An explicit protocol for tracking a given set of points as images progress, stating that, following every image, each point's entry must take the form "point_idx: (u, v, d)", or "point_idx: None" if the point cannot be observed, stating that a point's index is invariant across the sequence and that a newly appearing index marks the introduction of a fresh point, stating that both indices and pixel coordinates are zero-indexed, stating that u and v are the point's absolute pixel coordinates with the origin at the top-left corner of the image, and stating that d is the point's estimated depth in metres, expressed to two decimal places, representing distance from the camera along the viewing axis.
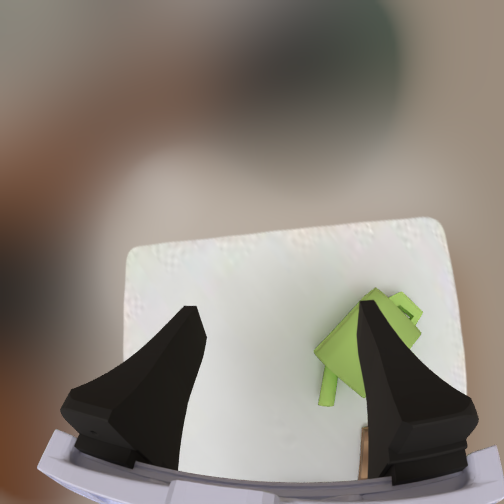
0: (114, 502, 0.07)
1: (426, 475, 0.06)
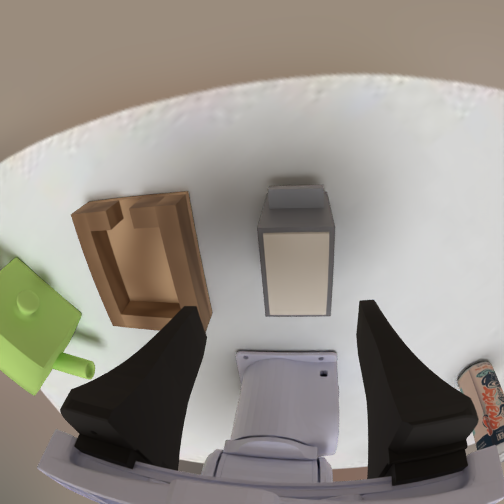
0: (114, 502, 0.07)
1: (426, 475, 0.06)
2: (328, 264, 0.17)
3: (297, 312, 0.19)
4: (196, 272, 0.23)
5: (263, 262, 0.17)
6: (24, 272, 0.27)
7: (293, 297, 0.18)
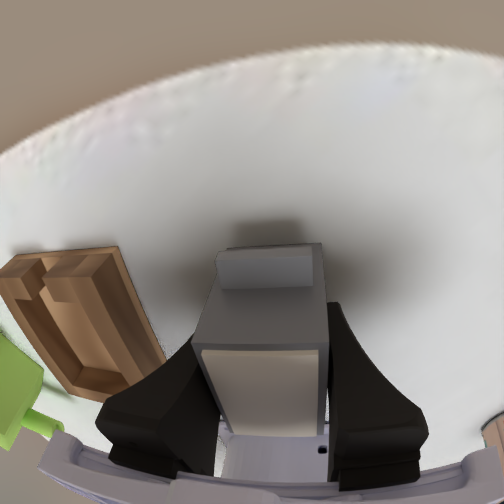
0: (114, 502, 0.07)
1: (373, 484, 0.06)
2: (318, 389, 0.09)
3: (274, 433, 0.11)
4: (145, 351, 0.16)
5: (212, 383, 0.10)
6: None
7: (265, 422, 0.11)
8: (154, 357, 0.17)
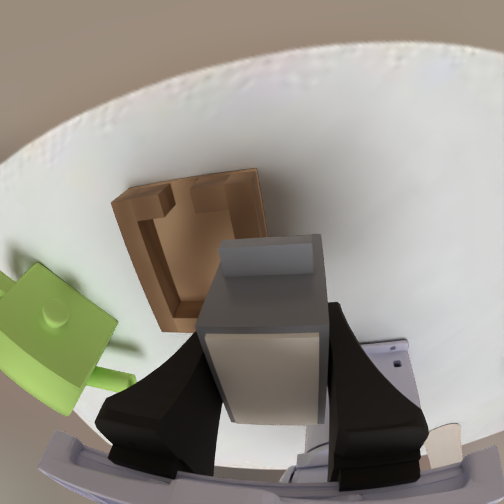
0: (114, 502, 0.07)
1: (373, 484, 0.06)
2: (319, 374, 0.10)
3: (275, 422, 0.12)
4: None
5: (214, 369, 0.10)
6: (48, 278, 0.25)
7: (266, 409, 0.11)
8: None
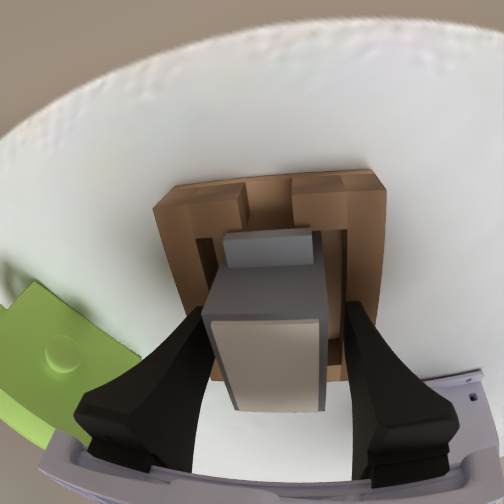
0: (114, 502, 0.07)
1: (406, 479, 0.06)
2: (319, 360, 0.10)
3: (277, 409, 0.12)
4: None
5: (219, 356, 0.11)
6: (49, 304, 0.19)
7: (269, 396, 0.12)
8: None
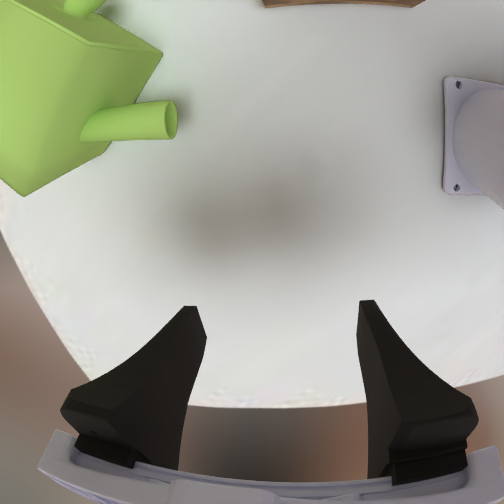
0: (114, 502, 0.07)
1: (426, 475, 0.06)
2: None
3: None
4: None
5: None
6: None
7: None
8: None
